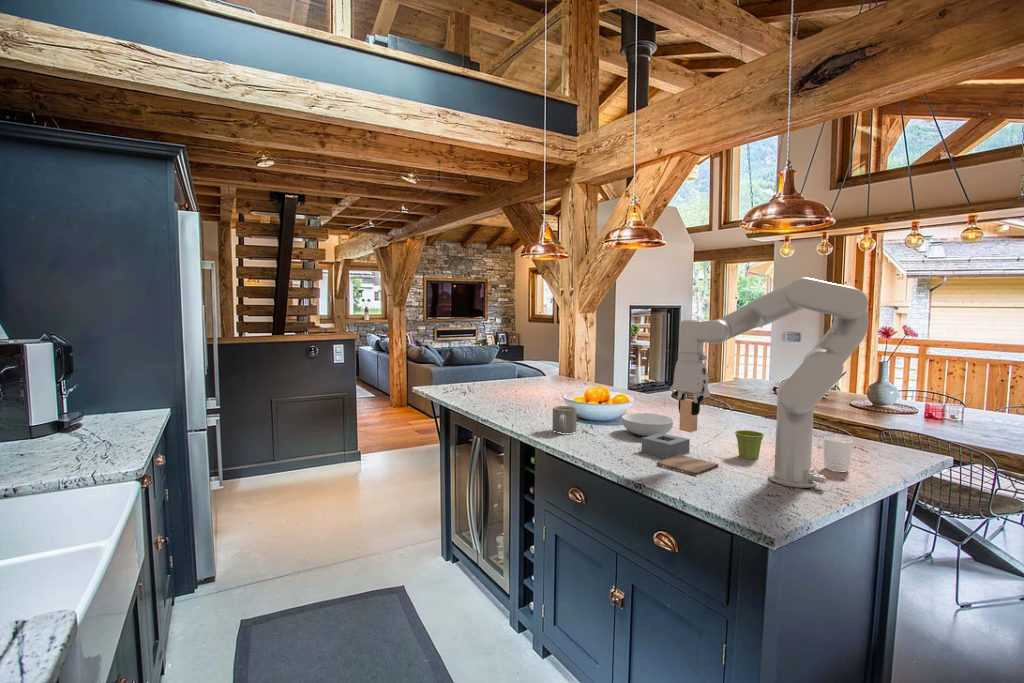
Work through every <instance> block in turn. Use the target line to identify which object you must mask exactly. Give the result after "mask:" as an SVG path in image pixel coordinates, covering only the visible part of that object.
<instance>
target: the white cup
mask: <svg viewBox="0 0 1024 683" xmlns="http://www.w3.org/2000/svg"><path fill="white" fill-rule="evenodd" d="M852 451H853V440H851V439H850V438H846V437H841V436H829V435H828V436H823V466H824V467H825V468H827V469H830V470H834V471H848V470H849V471H850V464H851V461H852V460H851V457H852ZM825 468H824V469H825ZM827 469H826V470H827Z"/></svg>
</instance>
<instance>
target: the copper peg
mask: <svg viewBox="0 0 1024 683" xmlns="http://www.w3.org/2000/svg"><path fill="white" fill-rule="evenodd" d="M693 403H694V399H691V398H685V399H683V400H680V413H679V431H682V432H687V433H694V432H696V431H698V415H699V414H698V415H692V404H693Z"/></svg>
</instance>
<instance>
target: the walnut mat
mask: <svg viewBox="0 0 1024 683" xmlns="http://www.w3.org/2000/svg"><path fill="white" fill-rule="evenodd" d="M658 465H659V466H658ZM656 466H658V467H662V466H664V467H663V468H665V467H667V468H666V469H669V468H671V469H670V470H673V469H675V470H674V471H676V470H679V471H678V472H680V471H683V472H682V473H684V472H686V473H685V474H687V473H690V474H689V475H691V474H694V475H693V476H695V475H698V474H700V475H702V474H701V473H703V474H705V473H707V471H708V472H711V471H712V469H713V470H715V469H718V468H719V463H715V462H711V461H707V460H702V459H699V458H695V457H690V456H687V455H678V456H675V457H672V458H665V459H663V460H660V461H657V462H656ZM704 472H705V473H704ZM698 476H699V475H698Z"/></svg>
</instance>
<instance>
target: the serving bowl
mask: <svg viewBox="0 0 1024 683" xmlns="http://www.w3.org/2000/svg"><path fill="white" fill-rule="evenodd" d="M621 422H622V425H623V427H624V428H625V429H626V430H627V431H629V432H630V433H632V434H635V435H637V436H640V435H641V436H640V437H645V436H651V435H655V434H658V433H663V434H668V433H669V432H670V431H671V430H672V429H673V426H674V422H675V421H674V419H673V417H669V416H667V415H664V414H663V415H662V414H658V413H647V412H631V413H626V414H623V415H622V416H621Z"/></svg>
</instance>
